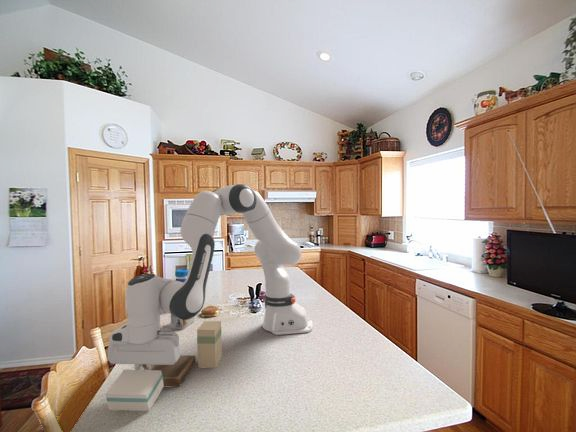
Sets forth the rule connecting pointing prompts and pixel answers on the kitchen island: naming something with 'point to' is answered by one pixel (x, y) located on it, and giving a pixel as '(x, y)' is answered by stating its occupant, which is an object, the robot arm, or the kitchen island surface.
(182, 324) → the coffee box
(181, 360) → the brown wooden tray
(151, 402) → the wide carton
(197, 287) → the robot arm
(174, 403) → the kitchen island surface
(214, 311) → the hamburger
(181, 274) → the beverage bottle
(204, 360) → the slim carton
